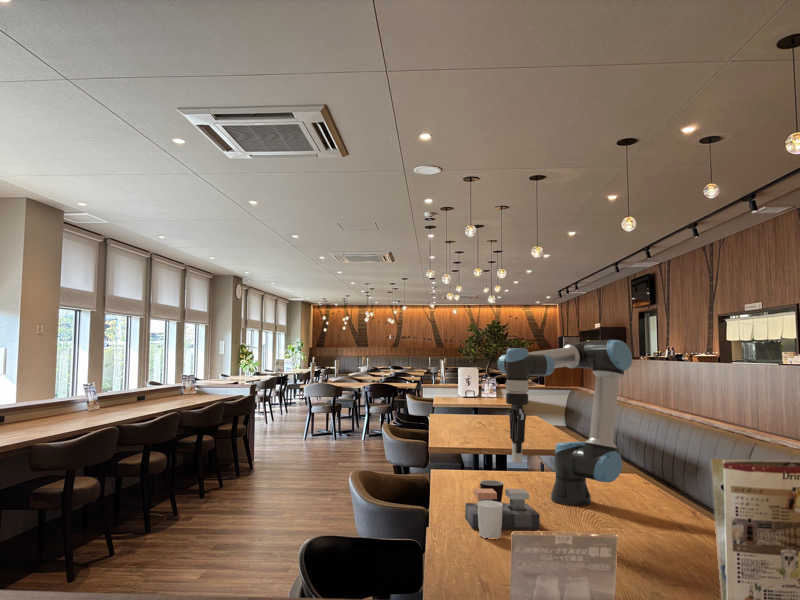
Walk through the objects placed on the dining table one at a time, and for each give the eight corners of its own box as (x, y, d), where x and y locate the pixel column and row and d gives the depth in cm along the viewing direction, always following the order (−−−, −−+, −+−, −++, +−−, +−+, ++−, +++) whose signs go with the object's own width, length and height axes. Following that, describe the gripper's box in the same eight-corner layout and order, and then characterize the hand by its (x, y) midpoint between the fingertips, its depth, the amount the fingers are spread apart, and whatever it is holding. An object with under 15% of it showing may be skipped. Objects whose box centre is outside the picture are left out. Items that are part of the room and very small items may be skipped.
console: (527, 518, 197) (527, 503, 197) (539, 530, 183) (539, 514, 183) (465, 517, 195) (465, 503, 196) (473, 530, 181) (473, 514, 182)
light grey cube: (523, 506, 193) (523, 488, 194) (529, 511, 187) (529, 493, 188) (505, 506, 193) (505, 488, 193) (510, 511, 186) (510, 493, 187)
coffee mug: (503, 514, 200) (503, 486, 201) (479, 512, 202) (479, 484, 203) (503, 506, 212) (503, 479, 213) (480, 504, 213) (481, 478, 215)
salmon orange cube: (492, 506, 193) (492, 488, 193) (496, 511, 186) (496, 493, 187) (474, 506, 192) (474, 488, 193) (477, 511, 186) (478, 492, 186)
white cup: (496, 542, 170) (497, 508, 171) (473, 537, 174) (473, 504, 175) (506, 535, 176) (506, 502, 177) (483, 531, 180) (483, 499, 181)
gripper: (501, 391, 201) (501, 458, 198) (512, 393, 187) (512, 466, 184) (521, 391, 201) (521, 458, 199) (534, 394, 187) (534, 466, 185)
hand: (517, 462), depth 192 cm, fingers closed
